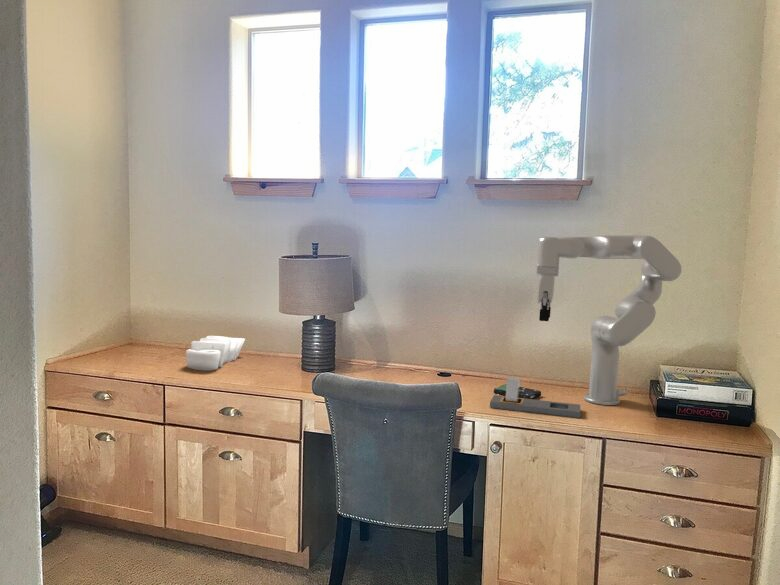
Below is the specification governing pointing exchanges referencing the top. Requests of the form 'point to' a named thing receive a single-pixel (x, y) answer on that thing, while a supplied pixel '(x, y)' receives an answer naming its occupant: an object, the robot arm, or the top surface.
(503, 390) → the disk drive
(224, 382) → the top surface
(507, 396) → the peg
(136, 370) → the top surface
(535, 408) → the grey slotted board
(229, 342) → the wavy white extrusion
